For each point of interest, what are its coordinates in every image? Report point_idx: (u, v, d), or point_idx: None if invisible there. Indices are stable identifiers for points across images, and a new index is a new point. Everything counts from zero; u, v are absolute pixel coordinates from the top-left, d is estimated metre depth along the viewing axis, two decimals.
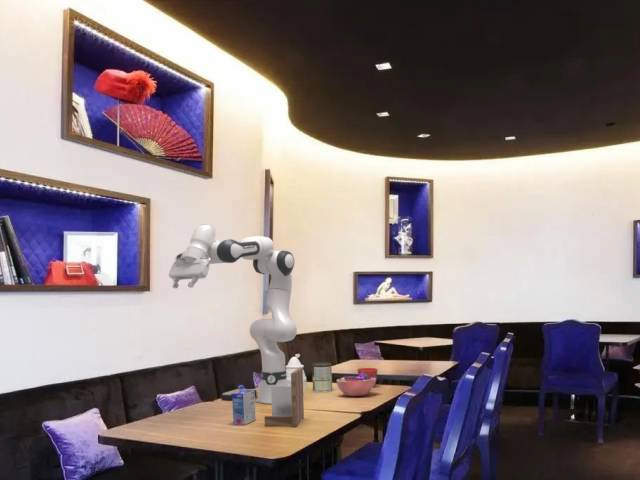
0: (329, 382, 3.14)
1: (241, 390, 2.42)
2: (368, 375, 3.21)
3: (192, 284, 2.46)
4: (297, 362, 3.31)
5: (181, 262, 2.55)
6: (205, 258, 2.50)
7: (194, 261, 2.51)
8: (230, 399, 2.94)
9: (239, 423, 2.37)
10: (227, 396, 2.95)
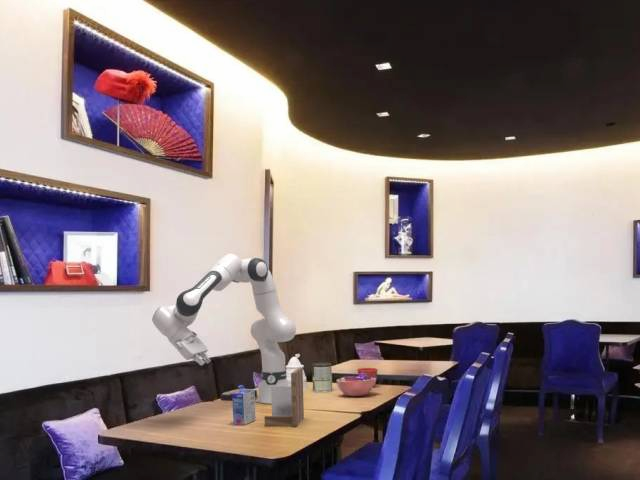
0: (329, 382, 3.14)
1: (241, 390, 2.42)
2: (368, 375, 3.21)
3: (200, 362, 2.41)
4: (297, 362, 3.31)
5: None
6: None
7: None
8: (229, 399, 2.95)
9: (239, 423, 2.37)
10: (226, 395, 2.96)
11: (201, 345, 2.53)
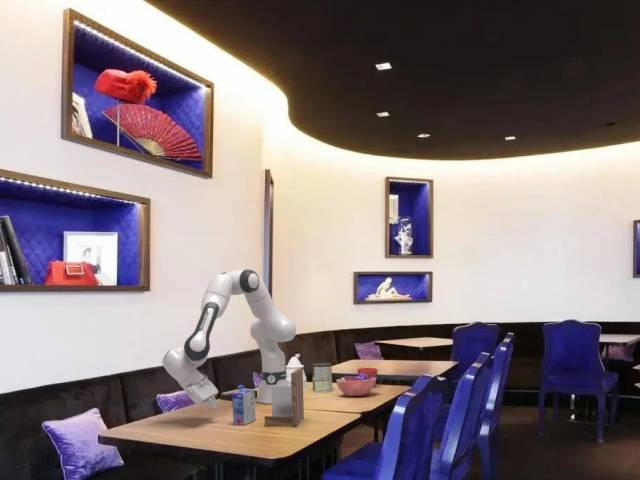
0: (329, 382, 3.14)
1: (241, 390, 2.42)
2: (368, 375, 3.21)
3: (214, 405, 2.42)
4: (297, 362, 3.31)
5: None
6: None
7: None
8: (227, 399, 2.96)
9: (239, 423, 2.37)
10: (224, 395, 2.97)
11: (212, 387, 2.51)
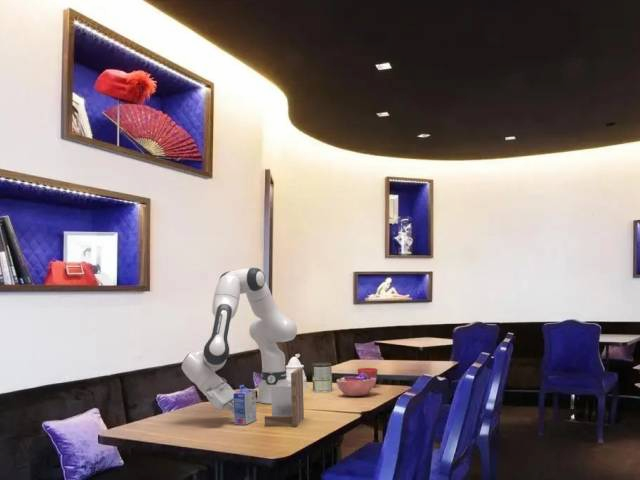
0: (329, 382, 3.14)
1: (242, 390, 2.42)
2: (368, 375, 3.21)
3: (233, 409, 2.41)
4: (297, 362, 3.31)
5: None
6: None
7: None
8: None
9: (240, 423, 2.37)
10: None
11: (230, 391, 2.50)
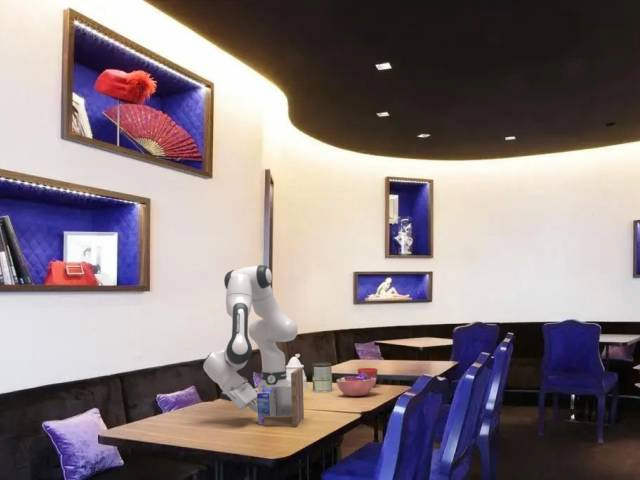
0: (329, 382, 3.14)
1: (264, 390, 2.40)
2: (368, 375, 3.21)
3: (255, 409, 2.40)
4: (297, 362, 3.31)
5: None
6: None
7: None
8: (225, 398, 2.97)
9: None
10: (223, 394, 2.99)
11: (252, 391, 2.48)
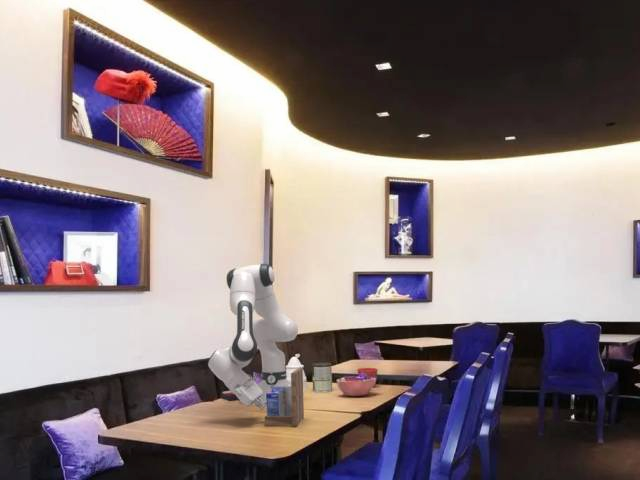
0: (329, 382, 3.14)
1: (273, 390, 2.40)
2: (368, 375, 3.21)
3: (261, 406, 2.40)
4: (297, 362, 3.31)
5: None
6: None
7: None
8: (225, 398, 2.98)
9: None
10: (223, 394, 3.00)
11: (257, 388, 2.48)
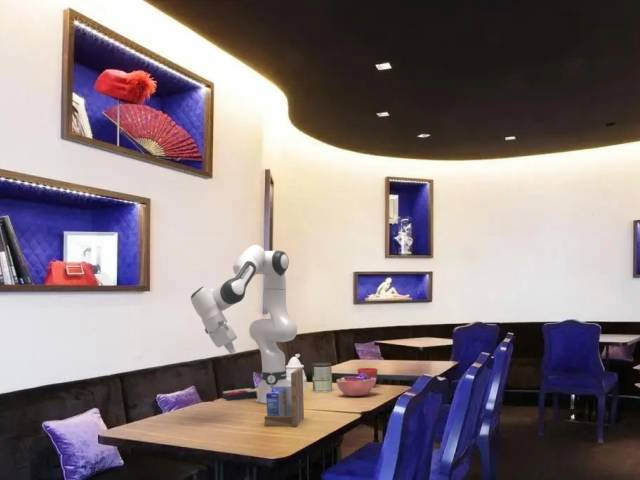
0: (329, 382, 3.14)
1: (273, 390, 2.40)
2: (368, 375, 3.21)
3: (233, 350, 2.49)
4: (297, 362, 3.31)
5: (212, 334, 2.53)
6: (221, 323, 2.44)
7: (218, 330, 2.47)
8: (224, 398, 2.99)
9: None
10: (223, 394, 3.01)
11: None
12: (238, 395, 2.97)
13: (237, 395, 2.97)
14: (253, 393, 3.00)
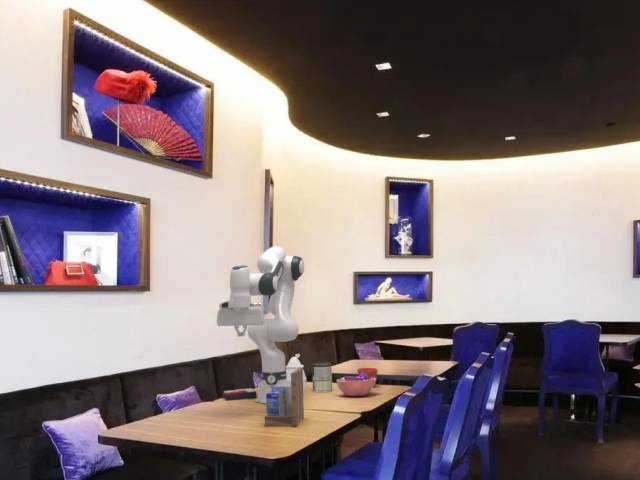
0: (329, 382, 3.14)
1: (273, 390, 2.40)
2: (368, 375, 3.21)
3: (244, 333, 2.57)
4: (297, 362, 3.31)
5: (229, 311, 2.56)
6: (257, 305, 2.57)
7: (247, 310, 2.56)
8: (224, 397, 3.00)
9: None
10: (223, 394, 3.02)
11: None
12: (237, 395, 2.97)
13: (236, 395, 2.97)
14: (252, 393, 2.99)
